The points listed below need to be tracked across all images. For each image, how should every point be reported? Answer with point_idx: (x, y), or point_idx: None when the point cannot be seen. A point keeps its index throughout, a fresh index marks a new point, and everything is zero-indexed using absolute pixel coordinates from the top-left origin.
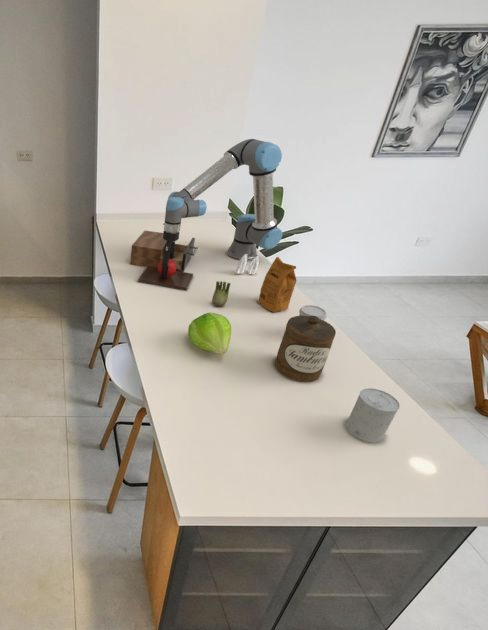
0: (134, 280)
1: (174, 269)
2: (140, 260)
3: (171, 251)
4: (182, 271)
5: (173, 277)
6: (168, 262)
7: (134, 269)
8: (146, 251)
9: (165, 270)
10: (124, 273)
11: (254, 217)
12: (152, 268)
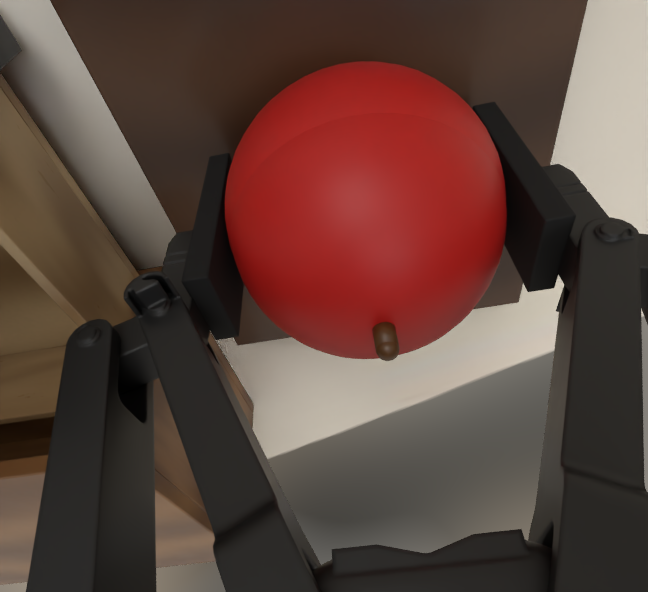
0: (488, 308)
1: (416, 92)
2: None
3: (640, 523)
4: (5, 25)
5: (328, 46)
6: (579, 273)
7: (309, 368)
8: None
9: (583, 191)
10: (403, 378)
11: None
12: (252, 307)
